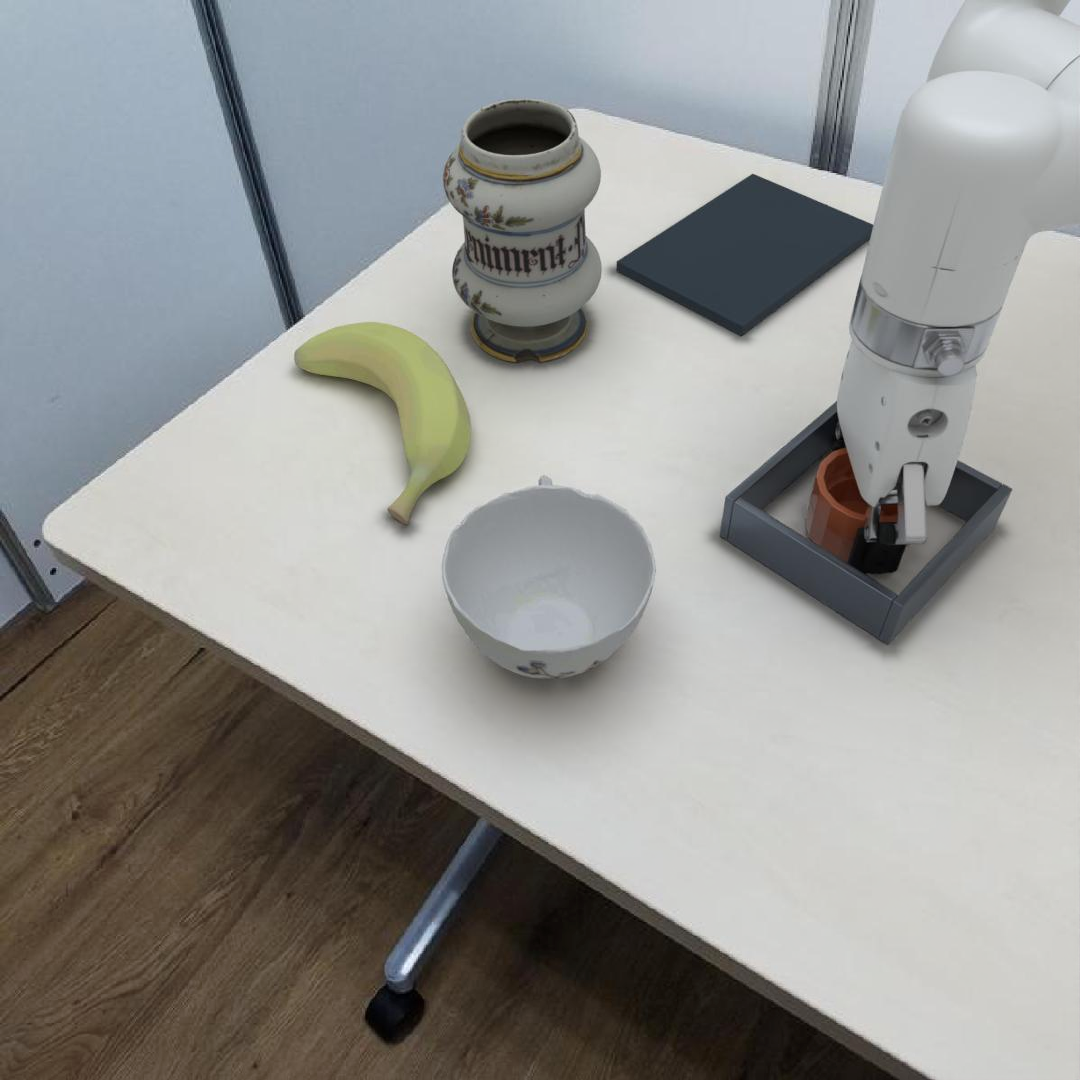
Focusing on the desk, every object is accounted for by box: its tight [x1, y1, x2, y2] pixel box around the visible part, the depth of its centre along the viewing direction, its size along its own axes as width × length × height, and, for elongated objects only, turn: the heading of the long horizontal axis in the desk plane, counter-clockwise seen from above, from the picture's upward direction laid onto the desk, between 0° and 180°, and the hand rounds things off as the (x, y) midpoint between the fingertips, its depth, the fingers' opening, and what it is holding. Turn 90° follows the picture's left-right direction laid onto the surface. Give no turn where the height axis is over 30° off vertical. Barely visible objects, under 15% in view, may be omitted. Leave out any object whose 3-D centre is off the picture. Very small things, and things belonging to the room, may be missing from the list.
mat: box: [615, 173, 874, 337], centre depth 92 cm, size 20×14×1 cm
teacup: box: [441, 474, 657, 680], centre depth 63 cm, size 15×12×8 cm
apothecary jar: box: [442, 97, 603, 363], centre depth 79 cm, size 12×12×18 cm
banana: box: [293, 321, 472, 525], centre depth 77 cm, size 14×6×20 cm
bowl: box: [804, 447, 911, 563], centre depth 68 cm, size 7×7×5 cm
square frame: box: [719, 400, 1013, 646], centre depth 68 cm, size 13×13×4 cm
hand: (858, 524), depth 69 cm, fingers closed on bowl, 7 cm apart
